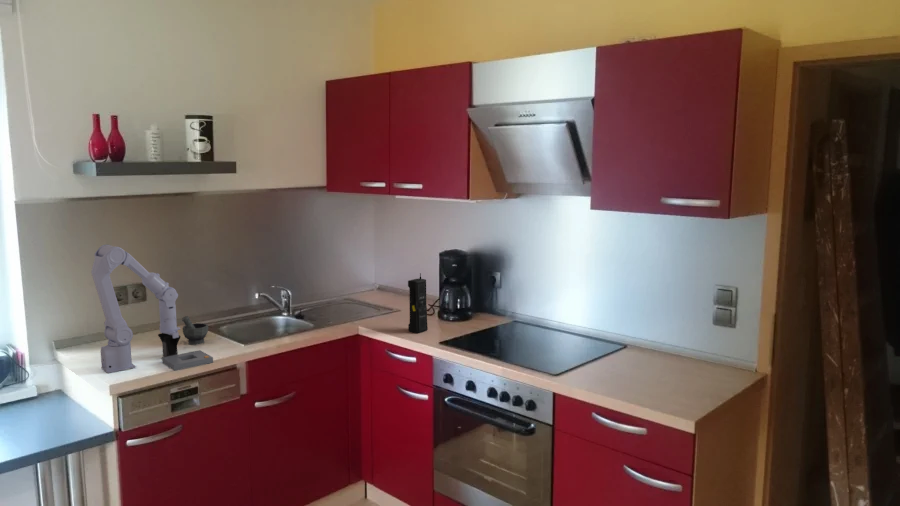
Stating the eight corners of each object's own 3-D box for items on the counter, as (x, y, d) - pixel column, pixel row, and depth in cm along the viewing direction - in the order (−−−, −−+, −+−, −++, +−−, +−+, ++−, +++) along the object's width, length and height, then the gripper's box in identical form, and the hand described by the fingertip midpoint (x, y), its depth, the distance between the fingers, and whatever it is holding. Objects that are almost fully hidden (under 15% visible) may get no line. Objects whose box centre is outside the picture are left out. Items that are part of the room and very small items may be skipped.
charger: (166, 358, 246) (165, 340, 245) (163, 356, 249) (162, 338, 248) (177, 356, 249) (176, 338, 248) (173, 354, 252) (172, 336, 251)
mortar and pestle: (196, 338, 274) (194, 310, 272) (213, 340, 270) (212, 312, 269) (175, 345, 264) (173, 316, 262) (193, 347, 260) (192, 318, 258)
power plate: (174, 370, 232) (173, 364, 232) (162, 362, 241) (161, 356, 241) (213, 362, 242) (212, 356, 241) (200, 355, 250) (199, 349, 250)
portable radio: (417, 334, 281) (416, 276, 277) (406, 332, 284) (406, 275, 281) (428, 330, 287) (428, 274, 283) (418, 328, 291) (417, 272, 287)
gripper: (186, 319, 244) (188, 354, 246) (172, 312, 255) (174, 346, 257) (166, 322, 239) (168, 358, 241) (153, 315, 250) (155, 350, 252)
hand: (170, 352), depth 249 cm, fingers closed on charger, 4 cm apart
